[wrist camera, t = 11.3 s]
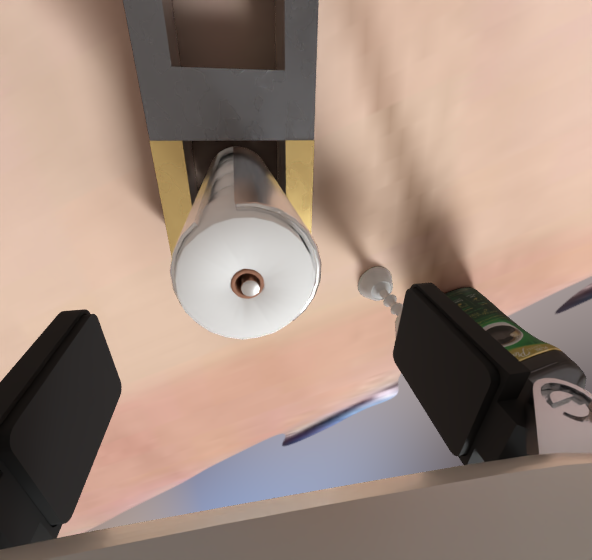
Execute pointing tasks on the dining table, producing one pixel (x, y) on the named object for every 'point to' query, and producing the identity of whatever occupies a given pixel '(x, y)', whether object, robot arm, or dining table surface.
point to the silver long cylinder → (244, 252)
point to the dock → (226, 104)
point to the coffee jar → (518, 339)
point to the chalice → (380, 289)
